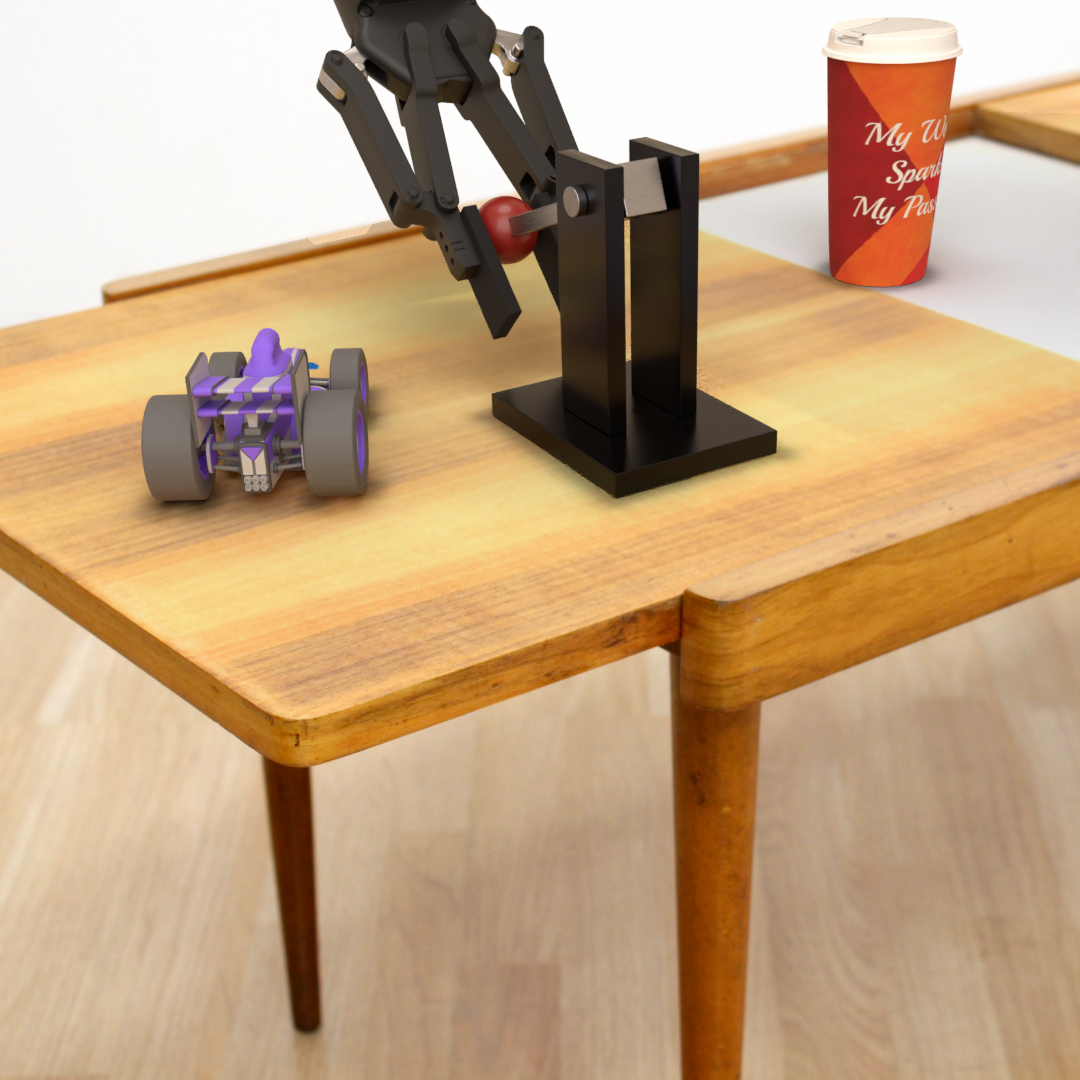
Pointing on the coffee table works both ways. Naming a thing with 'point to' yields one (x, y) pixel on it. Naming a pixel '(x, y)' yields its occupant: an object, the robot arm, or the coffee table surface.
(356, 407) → the toy race car
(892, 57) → the coffee cup
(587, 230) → the bracket
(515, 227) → the lever
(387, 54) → the robot arm
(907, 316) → the coffee table surface
